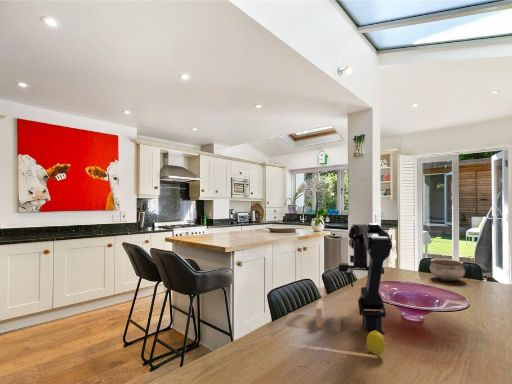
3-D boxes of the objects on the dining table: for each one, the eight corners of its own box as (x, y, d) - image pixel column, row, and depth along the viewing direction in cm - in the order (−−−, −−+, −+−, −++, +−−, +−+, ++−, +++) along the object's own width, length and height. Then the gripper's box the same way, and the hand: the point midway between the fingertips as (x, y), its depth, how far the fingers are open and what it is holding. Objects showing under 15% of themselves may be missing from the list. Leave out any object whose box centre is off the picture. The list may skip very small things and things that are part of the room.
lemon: (369, 349, 99) (369, 325, 99) (387, 355, 95) (386, 330, 96) (364, 356, 94) (363, 331, 95) (382, 362, 91) (381, 336, 91)
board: (340, 320, 123) (340, 318, 123) (340, 334, 110) (340, 332, 110) (289, 314, 129) (289, 312, 129) (282, 327, 116) (282, 325, 116)
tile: (323, 318, 123) (323, 300, 123) (321, 328, 114) (321, 308, 114) (318, 317, 124) (318, 300, 124) (316, 327, 114) (316, 308, 115)
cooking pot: (445, 286, 174) (444, 265, 175) (419, 278, 192) (419, 259, 193) (476, 282, 181) (475, 263, 182) (448, 275, 200) (448, 257, 200)
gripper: (380, 250, 135) (381, 284, 135) (338, 248, 140) (339, 281, 140) (383, 254, 124) (384, 291, 124) (338, 252, 130) (338, 288, 129)
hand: (360, 287), depth 129 cm, fingers open, 7 cm apart
